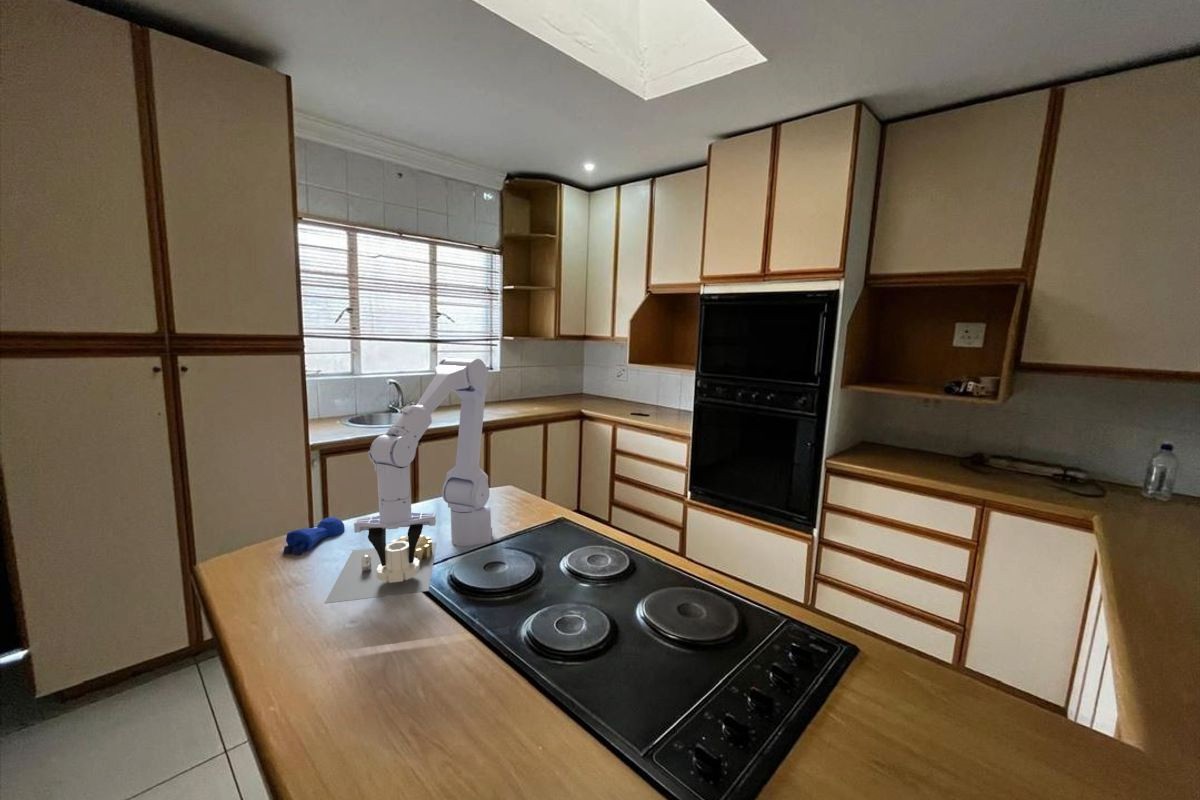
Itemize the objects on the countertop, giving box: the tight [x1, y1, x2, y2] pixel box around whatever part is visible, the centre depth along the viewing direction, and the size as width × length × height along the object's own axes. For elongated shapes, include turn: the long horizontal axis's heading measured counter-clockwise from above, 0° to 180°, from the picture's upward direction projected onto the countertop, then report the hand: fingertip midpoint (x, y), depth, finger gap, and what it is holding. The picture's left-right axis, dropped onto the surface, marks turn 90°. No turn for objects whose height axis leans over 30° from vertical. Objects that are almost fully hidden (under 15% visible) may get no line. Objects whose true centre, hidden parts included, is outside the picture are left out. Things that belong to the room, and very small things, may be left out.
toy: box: [283, 516, 346, 556], centre depth 114 cm, size 7×6×15 cm
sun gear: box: [391, 534, 433, 563], centre depth 106 cm, size 9×9×4 cm
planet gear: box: [376, 541, 420, 583], centre depth 95 cm, size 8×8×6 cm
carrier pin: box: [361, 555, 372, 573], centre depth 100 cm, size 2×2×3 cm
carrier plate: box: [324, 542, 437, 604], centre depth 101 cm, size 18×22×1 cm
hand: (398, 562), depth 95 cm, fingers closed on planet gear, 4 cm apart
